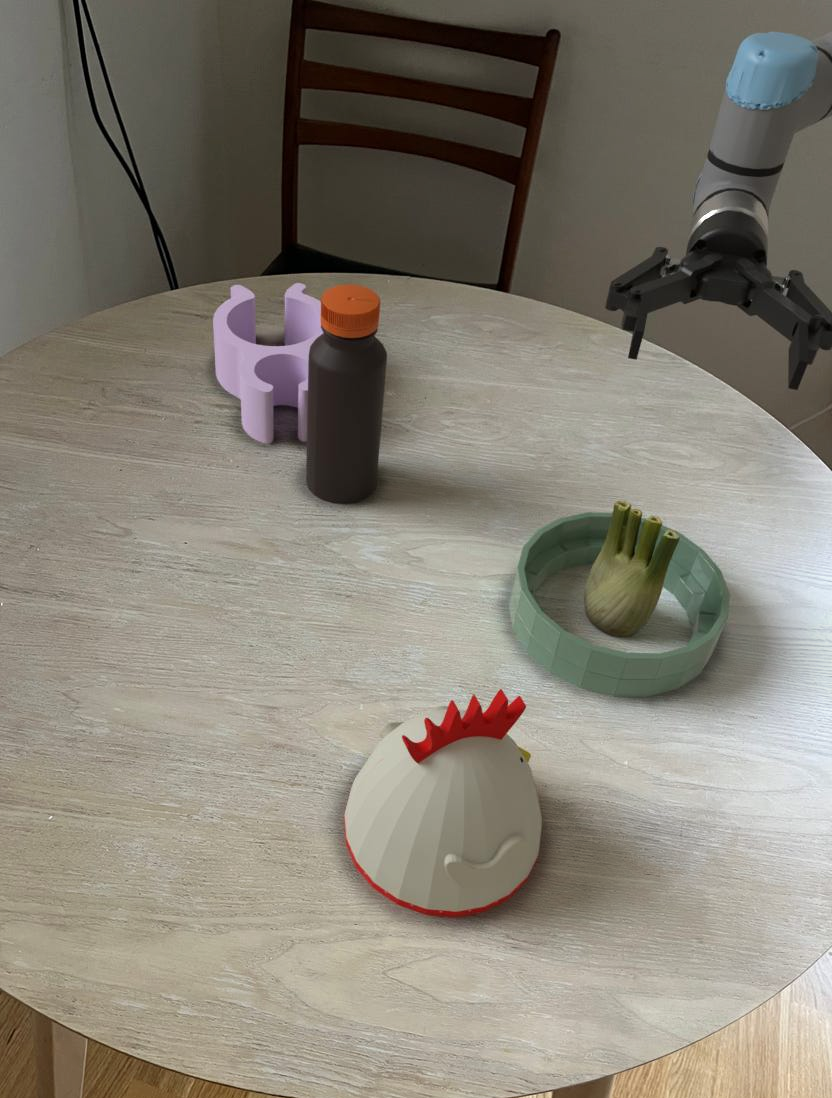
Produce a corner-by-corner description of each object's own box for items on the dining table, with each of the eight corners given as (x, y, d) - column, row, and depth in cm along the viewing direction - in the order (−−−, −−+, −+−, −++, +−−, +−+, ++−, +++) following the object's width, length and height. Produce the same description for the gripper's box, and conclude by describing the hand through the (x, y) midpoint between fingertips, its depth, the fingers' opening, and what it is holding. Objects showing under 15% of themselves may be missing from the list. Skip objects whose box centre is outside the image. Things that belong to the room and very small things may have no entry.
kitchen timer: (570, 889, 75) (620, 760, 64) (387, 949, 71) (406, 823, 60) (485, 738, 83) (516, 601, 72) (317, 785, 80) (323, 648, 69)
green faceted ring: (715, 583, 97) (734, 537, 93) (702, 726, 85) (723, 681, 81) (527, 540, 99) (537, 494, 95) (490, 673, 88) (500, 627, 84)
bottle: (359, 460, 106) (371, 272, 92) (387, 502, 102) (405, 312, 88) (295, 475, 104) (297, 285, 90) (321, 518, 100) (328, 327, 85)
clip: (348, 447, 108) (351, 388, 103) (223, 453, 106) (220, 394, 101) (323, 339, 121) (325, 282, 116) (212, 343, 119) (209, 285, 114)
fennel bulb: (651, 640, 91) (691, 533, 82) (599, 652, 90) (633, 544, 81) (619, 593, 94) (654, 486, 86) (569, 604, 93) (598, 496, 84)
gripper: (843, 305, 106) (851, 426, 92) (592, 261, 110) (562, 370, 96) (873, 232, 101) (886, 348, 87) (608, 189, 105) (578, 293, 91)
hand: (716, 360), depth 91 cm, fingers open, 13 cm apart
